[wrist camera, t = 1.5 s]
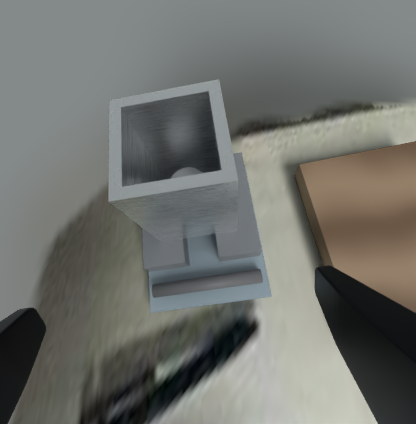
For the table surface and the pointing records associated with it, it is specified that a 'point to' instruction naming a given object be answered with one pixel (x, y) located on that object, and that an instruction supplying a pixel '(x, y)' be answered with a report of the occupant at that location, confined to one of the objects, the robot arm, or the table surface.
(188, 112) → the steel sleeve
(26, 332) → the robot arm
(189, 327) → the table surface
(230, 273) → the vise
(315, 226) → the walnut board
